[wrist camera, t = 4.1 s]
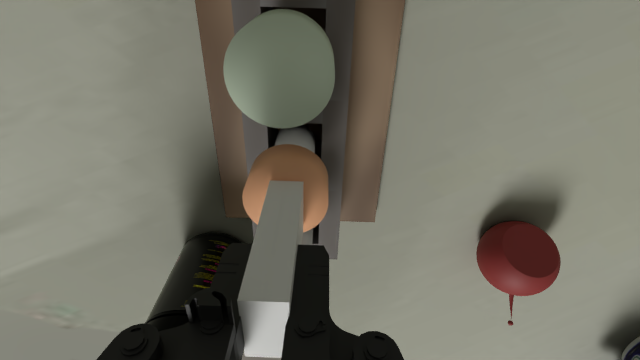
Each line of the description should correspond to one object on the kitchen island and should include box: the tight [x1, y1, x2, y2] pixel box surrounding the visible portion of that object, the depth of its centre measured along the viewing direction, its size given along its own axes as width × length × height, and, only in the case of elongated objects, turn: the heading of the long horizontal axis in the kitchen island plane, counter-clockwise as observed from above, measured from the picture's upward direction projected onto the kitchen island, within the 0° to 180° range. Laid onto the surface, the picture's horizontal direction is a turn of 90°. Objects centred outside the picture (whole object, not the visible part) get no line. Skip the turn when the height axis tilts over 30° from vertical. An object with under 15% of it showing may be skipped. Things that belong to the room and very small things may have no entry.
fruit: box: [477, 221, 560, 325], centre depth 30 cm, size 6×6×8 cm
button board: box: [195, 0, 405, 259], centre depth 24 cm, size 12×18×6 cm
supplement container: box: [145, 233, 242, 332], centre depth 29 cm, size 7×7×10 cm
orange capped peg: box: [242, 125, 328, 232], centre depth 19 cm, size 4×4×6 cm
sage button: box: [223, 9, 335, 128], centre depth 16 cm, size 4×4×6 cm
